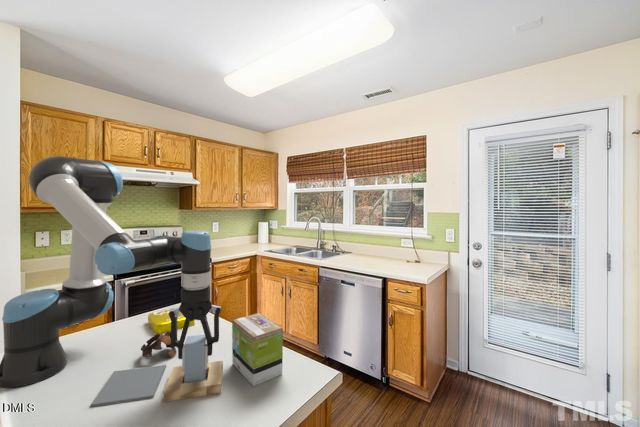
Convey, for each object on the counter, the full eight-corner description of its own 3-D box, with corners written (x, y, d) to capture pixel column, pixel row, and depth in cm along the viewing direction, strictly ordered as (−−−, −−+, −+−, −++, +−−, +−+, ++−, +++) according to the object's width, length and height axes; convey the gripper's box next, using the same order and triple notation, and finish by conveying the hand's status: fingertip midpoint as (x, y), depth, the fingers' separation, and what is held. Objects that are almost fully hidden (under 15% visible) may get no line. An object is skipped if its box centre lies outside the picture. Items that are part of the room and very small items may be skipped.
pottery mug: (169, 365, 94) (154, 345, 92) (146, 374, 95) (131, 355, 93) (188, 338, 105) (174, 320, 103) (167, 347, 107) (153, 330, 105)
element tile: (155, 336, 113) (155, 324, 113) (147, 324, 124) (146, 312, 124) (195, 326, 123) (195, 314, 123) (184, 315, 134) (184, 305, 134)
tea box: (230, 364, 94) (231, 318, 93) (259, 354, 100) (259, 311, 99) (253, 388, 82) (253, 335, 82) (283, 374, 89) (284, 326, 88)
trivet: (90, 407, 73) (90, 404, 73) (114, 373, 88) (114, 371, 88) (153, 397, 77) (153, 395, 77) (166, 366, 92) (166, 364, 92)
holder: (163, 401, 76) (163, 392, 76) (173, 375, 87) (173, 367, 87) (221, 392, 80) (221, 383, 80) (222, 368, 91) (222, 360, 91)
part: (184, 387, 80) (184, 344, 80) (187, 376, 85) (187, 336, 85) (204, 384, 82) (204, 342, 81) (205, 374, 87) (206, 334, 86)
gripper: (156, 292, 76) (156, 380, 77) (229, 288, 81) (228, 370, 82) (163, 284, 83) (163, 364, 84) (230, 281, 89) (229, 357, 89)
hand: (195, 367), depth 83 cm, fingers closed on part, 5 cm apart
